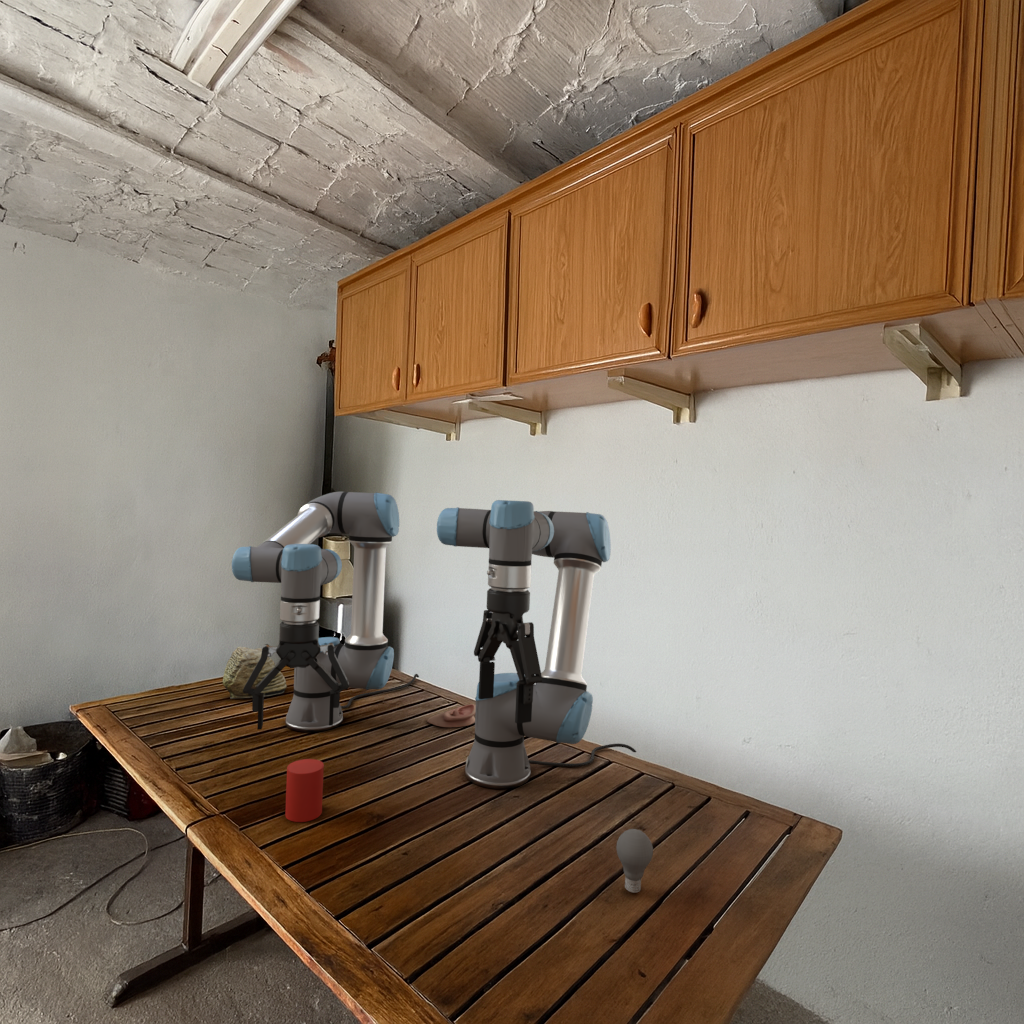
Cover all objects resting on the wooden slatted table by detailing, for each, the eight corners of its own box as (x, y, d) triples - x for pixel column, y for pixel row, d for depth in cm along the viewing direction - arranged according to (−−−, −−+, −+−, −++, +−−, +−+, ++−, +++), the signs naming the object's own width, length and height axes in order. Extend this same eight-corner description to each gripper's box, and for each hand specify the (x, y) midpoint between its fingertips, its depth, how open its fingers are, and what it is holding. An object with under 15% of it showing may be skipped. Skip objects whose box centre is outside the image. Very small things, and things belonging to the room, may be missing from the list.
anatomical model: (423, 710, 178) (436, 698, 189) (423, 725, 178) (436, 711, 189) (469, 716, 175) (479, 703, 186) (468, 730, 175) (479, 716, 186)
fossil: (218, 695, 195) (220, 647, 195) (278, 685, 208) (279, 640, 207) (228, 703, 189) (230, 653, 188) (289, 692, 201) (290, 645, 201)
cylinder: (321, 820, 124) (323, 771, 124) (284, 824, 122) (286, 774, 122) (321, 803, 131) (323, 757, 131) (286, 806, 129) (288, 760, 129)
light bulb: (610, 879, 108) (613, 822, 108) (644, 879, 109) (647, 822, 109) (619, 902, 102) (622, 840, 102) (655, 901, 103) (658, 840, 103)
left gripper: (229, 625, 121) (226, 735, 121) (363, 624, 128) (360, 728, 128) (235, 618, 128) (232, 721, 129) (362, 616, 135) (358, 715, 135)
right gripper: (459, 579, 119) (454, 691, 120) (526, 600, 98) (520, 737, 98) (494, 578, 123) (489, 687, 124) (567, 599, 101) (561, 730, 102)
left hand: (296, 725), depth 128 cm, fingers open, 13 cm apart
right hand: (503, 709), depth 111 cm, fingers open, 13 cm apart
